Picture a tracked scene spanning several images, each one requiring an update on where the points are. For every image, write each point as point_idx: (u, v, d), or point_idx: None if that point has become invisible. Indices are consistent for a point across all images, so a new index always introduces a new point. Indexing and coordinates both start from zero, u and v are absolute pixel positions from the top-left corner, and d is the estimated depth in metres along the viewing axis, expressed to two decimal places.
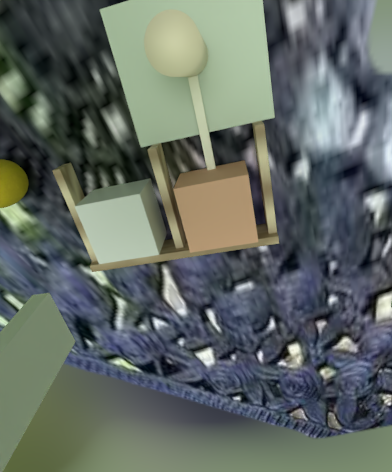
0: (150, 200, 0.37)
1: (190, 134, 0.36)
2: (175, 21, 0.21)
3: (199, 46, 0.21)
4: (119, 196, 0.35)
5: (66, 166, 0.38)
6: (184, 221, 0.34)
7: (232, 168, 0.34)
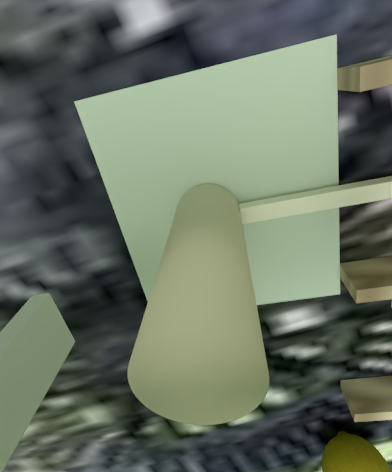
0: None
1: (335, 215, 0.19)
2: (151, 373, 0.09)
3: (202, 332, 0.08)
4: None
5: (348, 394, 0.25)
6: None
7: None
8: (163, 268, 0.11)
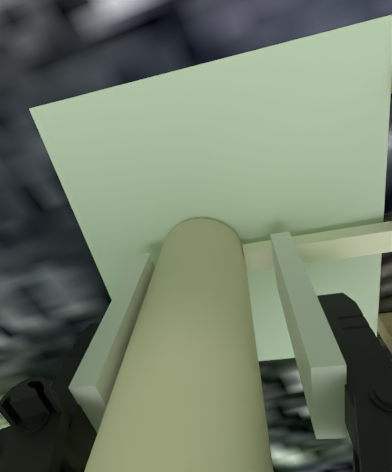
0: None
1: (376, 257, 0.15)
2: None
3: None
4: None
5: None
6: None
7: None
8: (119, 389, 0.07)
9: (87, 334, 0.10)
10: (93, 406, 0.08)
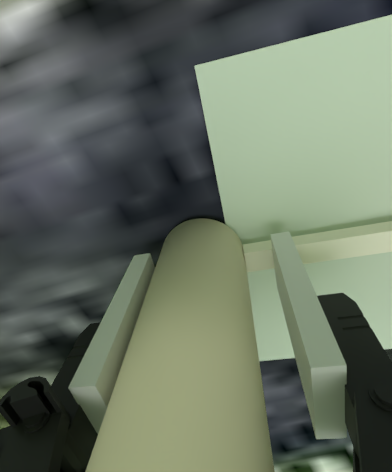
0: None
1: None
2: None
3: None
4: None
5: None
6: None
7: None
8: (120, 390, 0.07)
9: (87, 334, 0.10)
10: (93, 407, 0.08)
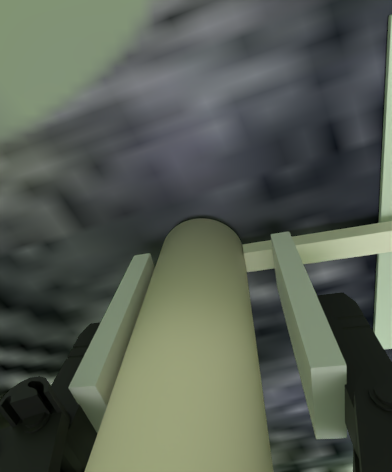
0: None
1: None
2: None
3: None
4: None
5: None
6: None
7: None
8: (120, 390, 0.07)
9: (87, 334, 0.10)
10: (93, 407, 0.08)
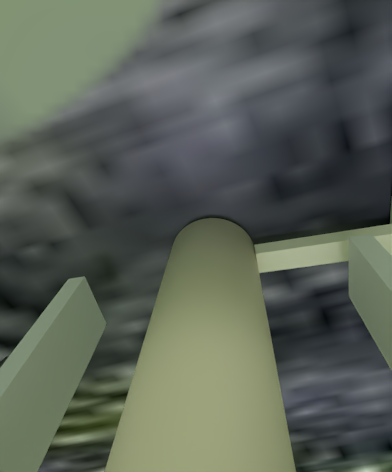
0: None
1: None
2: None
3: None
4: None
5: None
6: None
7: None
8: (136, 395, 0.07)
9: None
10: None
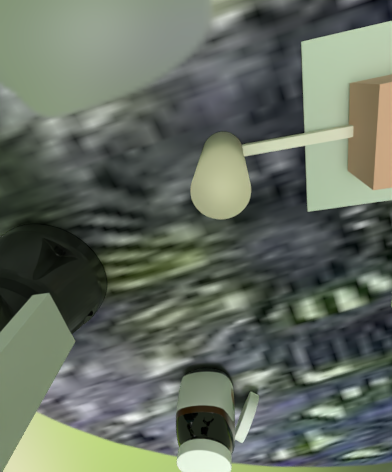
0: None
1: None
2: (200, 186, 0.20)
3: (224, 163, 0.19)
4: None
5: None
6: None
7: (360, 103, 0.25)
8: (202, 157, 0.23)
9: None
10: None
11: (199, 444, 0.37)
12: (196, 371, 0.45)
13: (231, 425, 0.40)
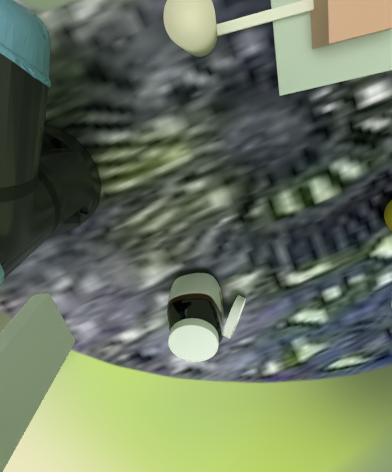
0: None
1: None
2: (172, 13, 0.23)
3: None
4: None
5: None
6: (373, 28, 0.28)
7: None
8: None
9: None
10: None
11: (188, 322, 0.40)
12: (186, 274, 0.48)
13: (218, 312, 0.43)
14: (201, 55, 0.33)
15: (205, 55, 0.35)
